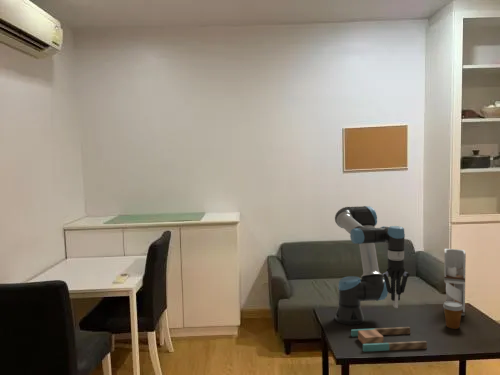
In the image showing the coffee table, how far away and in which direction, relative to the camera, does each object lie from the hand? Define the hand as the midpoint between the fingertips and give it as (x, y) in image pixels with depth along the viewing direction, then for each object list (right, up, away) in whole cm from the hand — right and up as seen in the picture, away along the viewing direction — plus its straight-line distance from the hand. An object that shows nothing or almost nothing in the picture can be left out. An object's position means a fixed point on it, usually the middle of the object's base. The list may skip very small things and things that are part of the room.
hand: (395, 306), depth 213 cm
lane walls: (+2, -17, +1) cm, 17 cm away
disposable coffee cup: (+36, -15, +18) cm, 43 cm away
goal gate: (-13, -17, 0) cm, 21 cm away
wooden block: (-12, -17, 0) cm, 21 cm away
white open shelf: (+47, -14, +41) cm, 64 cm away
